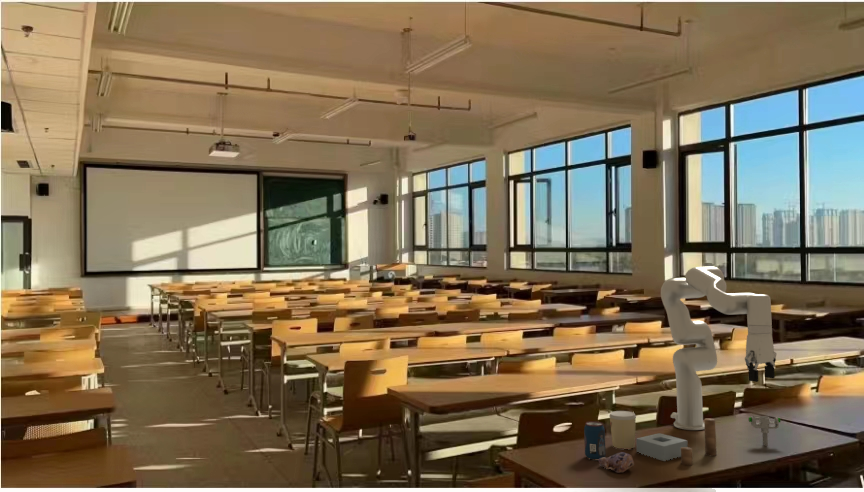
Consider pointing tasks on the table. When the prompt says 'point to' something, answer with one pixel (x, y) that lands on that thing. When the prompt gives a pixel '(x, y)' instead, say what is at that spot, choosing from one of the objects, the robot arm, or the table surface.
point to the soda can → (594, 440)
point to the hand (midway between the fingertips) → (761, 379)
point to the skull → (617, 462)
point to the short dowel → (686, 456)
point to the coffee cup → (623, 429)
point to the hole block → (660, 446)
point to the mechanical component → (764, 425)
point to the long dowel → (710, 437)
